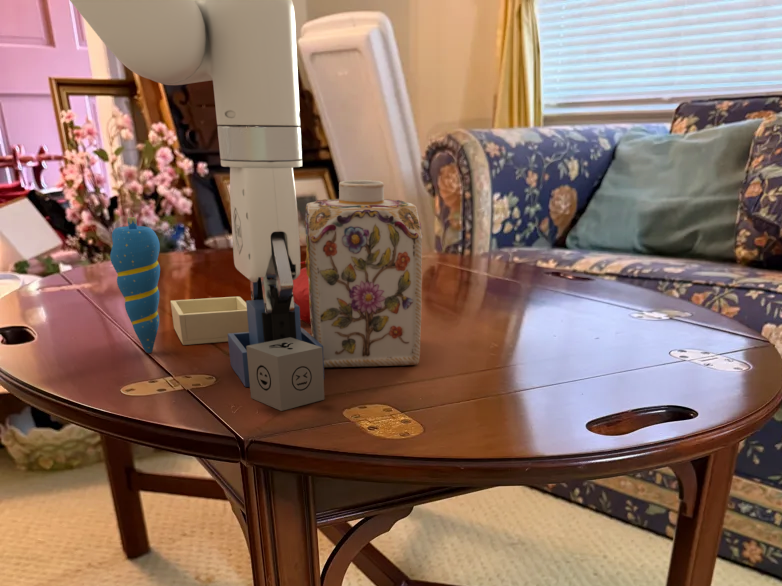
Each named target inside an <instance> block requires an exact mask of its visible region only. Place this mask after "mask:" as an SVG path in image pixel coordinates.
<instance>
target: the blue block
mask: <svg viewBox="0 0 782 586" xmlns="http://www.w3.org/2000/svg"><path fill="white" fill-rule="evenodd" d="M245 302H246V305H247V317H248V328H249V339H250V345H254V344H259V343H264V334H263V322H262V313H265V307H264V300H252V299H251V300H246V301H245ZM294 308H295V310H294V311H295V323H296V339H298V340H301V328H302V325H301V319H300V307H299V306H298V305H297V304H296V303H294Z"/></svg>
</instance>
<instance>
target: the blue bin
mask: <svg viewBox="0 0 782 586" xmlns="http://www.w3.org/2000/svg"><path fill="white" fill-rule="evenodd" d="M301 341H304V342H307V343H310V344H313V345H316V346H320V347H322V353H323V345H322V344H320V343H319V342H318V341H317V340H316V339H315V338H314V337H312V334H311V333H309V332H308V331H307V330H306V329H304V327H301ZM227 344H228V352H229V361H230V362H229V363H230V367H231V368H232V370H233V372H234V373H235V374H236V375H237V377H238V378H239V380H240V382H241V383H242V384H243V386H244V387H245V388H250V382H249V370H248V359H247V348H246V346H248V345H250V339H249V332H241V333H228V341H227ZM323 377H324V378H325V368H324V354H323Z"/></svg>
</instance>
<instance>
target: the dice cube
mask: <svg viewBox="0 0 782 586" xmlns="http://www.w3.org/2000/svg"><path fill="white" fill-rule="evenodd" d="M246 348H247V359H248V370H249V382H250V387H249V391H250V398H251V399H252V400H254V401H257V402H259V403H261V404H264V405H267V406H268V407H271V408H273V409H276V410H278V411H280V412H282V411H283V412H284V411H287V410H291V409H293V408H298V407H301V406H305V405H306V406H307V405H309V404H313V403H317V402H321V401H324V400H325V376H324V377H323V353H322V347H320V346H316V345H313V344H310V343H307V342H304V341H301V340H298V339H294V338H291V337H289V338H284V339H279V340H274V341H269V342H264V343H259V344H254V345H248V346H246Z"/></svg>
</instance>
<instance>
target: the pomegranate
mask: <svg viewBox="0 0 782 586" xmlns="http://www.w3.org/2000/svg"><path fill="white" fill-rule="evenodd" d="M305 261H306V260H304V261H301V263H300V265H306V262H305ZM293 298H294V303H296V304H297V305H298V306H299V307H300V321H303V322H304V323H306V325H311V319H310V304H309V283H308V275H307V270H306V266H305V267H303V268H300V275H299V276H298V277H297V278H296V279H295V280H293Z"/></svg>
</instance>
